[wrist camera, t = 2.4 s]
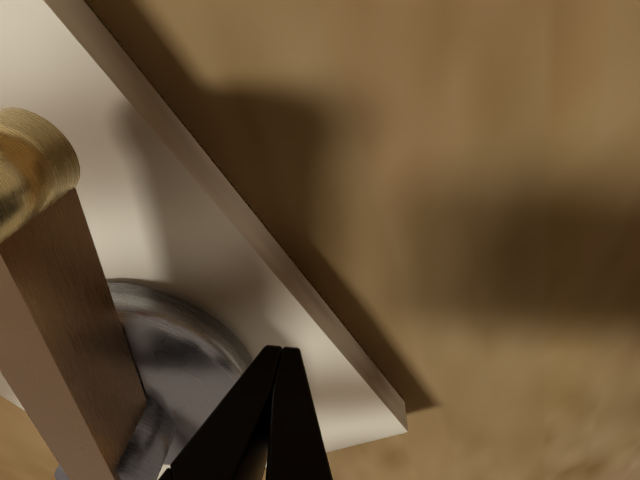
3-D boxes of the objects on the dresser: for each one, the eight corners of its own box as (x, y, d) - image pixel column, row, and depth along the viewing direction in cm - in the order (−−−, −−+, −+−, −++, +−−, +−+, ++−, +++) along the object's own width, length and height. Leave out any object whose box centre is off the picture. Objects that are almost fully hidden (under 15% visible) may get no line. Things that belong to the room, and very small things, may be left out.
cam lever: (260, 439, 18) (238, 547, 15) (74, 418, 19) (9, 520, 15) (238, 101, 10) (172, 171, 6) (-108, 76, 10) (-353, 128, 7)
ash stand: (404, 401, 19) (408, 438, 17) (169, 467, 24) (156, 499, 23) (-5, -110, 9) (-75, -126, 8) (-236, 193, 15) (-303, 218, 13)
